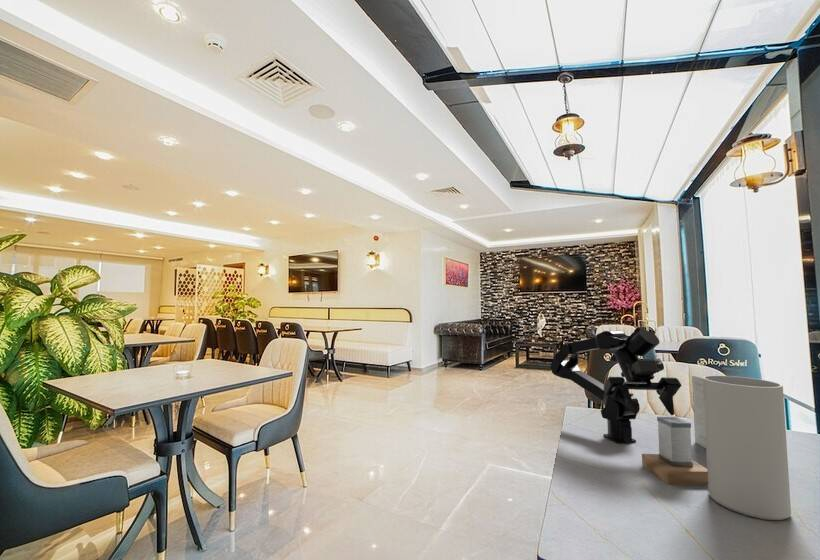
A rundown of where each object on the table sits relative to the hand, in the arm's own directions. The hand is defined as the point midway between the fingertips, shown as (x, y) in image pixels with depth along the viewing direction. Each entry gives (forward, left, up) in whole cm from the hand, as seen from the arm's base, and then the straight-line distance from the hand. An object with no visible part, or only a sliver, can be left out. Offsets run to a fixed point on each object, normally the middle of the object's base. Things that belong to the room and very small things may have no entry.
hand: (654, 414), depth 98 cm
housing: (+8, -2, -9) cm, 12 cm away
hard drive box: (-3, +24, -12) cm, 27 cm away
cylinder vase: (+22, +1, -12) cm, 25 cm away
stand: (+8, -2, -12) cm, 14 cm away
